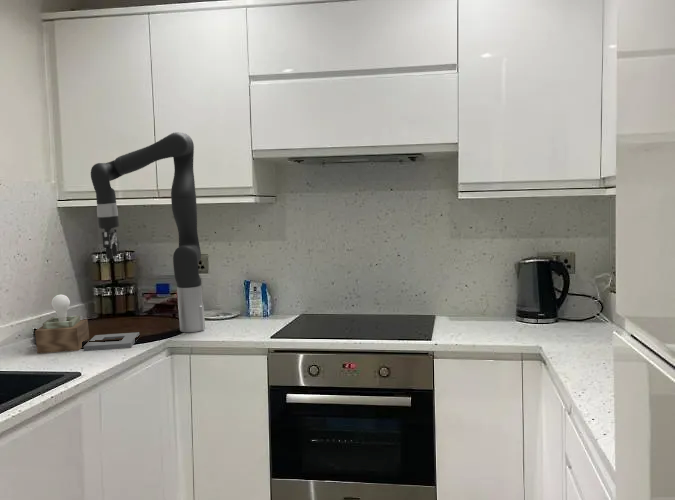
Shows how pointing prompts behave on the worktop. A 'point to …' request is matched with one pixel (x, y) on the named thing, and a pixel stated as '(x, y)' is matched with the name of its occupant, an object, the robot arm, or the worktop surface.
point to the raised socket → (62, 335)
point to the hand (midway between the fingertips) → (112, 257)
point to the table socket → (124, 343)
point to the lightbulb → (61, 306)
